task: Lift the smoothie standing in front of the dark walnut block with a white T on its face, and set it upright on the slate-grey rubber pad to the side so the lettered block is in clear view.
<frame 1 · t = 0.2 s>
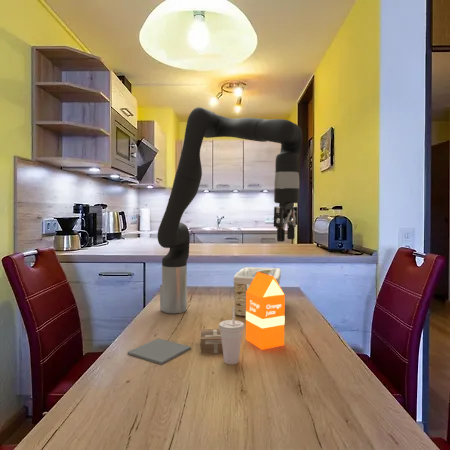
hand: (286, 240, 112), 29 cm above the table, tool pointing down, fingers open, 8 cm apart
orange juice: (264, 342, 106), on the table
slate pad: (159, 351, 98), on the table
lettered block: (215, 347, 101), on the table
storage basket: (258, 310, 140), on the table
smoothie: (231, 361, 92), on the table
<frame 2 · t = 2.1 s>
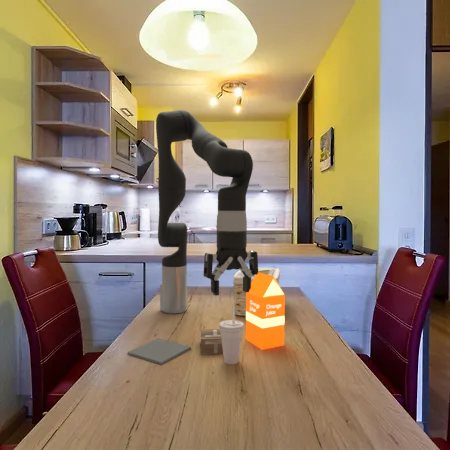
hand: (231, 293, 92), 17 cm above the table, tool pointing down, fingers open, 8 cm apart
nothing on the table moved.
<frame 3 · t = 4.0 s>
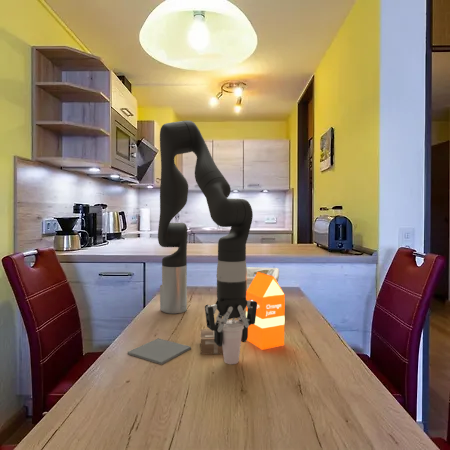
hand: (231, 343, 92), 5 cm above the table, tool pointing down, fingers closed on smoothie, 6 cm apart
smoothie: (231, 361, 92), on the table, touching gripper
everything else where it was.
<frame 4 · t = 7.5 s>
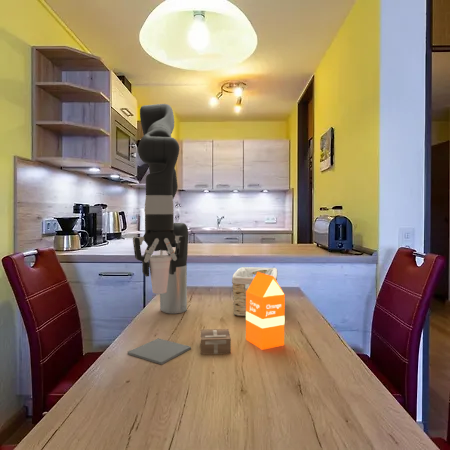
hand: (159, 274, 97), 21 cm above the table, tool pointing down, fingers closed on smoothie, 6 cm apart
smoothie: (159, 292, 98), point 16 cm above the table, touching gripper
when the fingers open (7 cm above the table, at t = 10.9 s): smoothie drops 1 cm, resting on slate pad.
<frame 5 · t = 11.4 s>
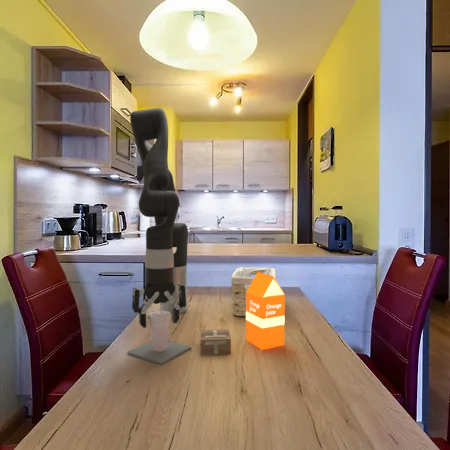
hand: (159, 324, 98), 7 cm above the table, tool pointing down, fingers open, 8 cm apart
smoothie: (159, 349, 98), resting on slate pad
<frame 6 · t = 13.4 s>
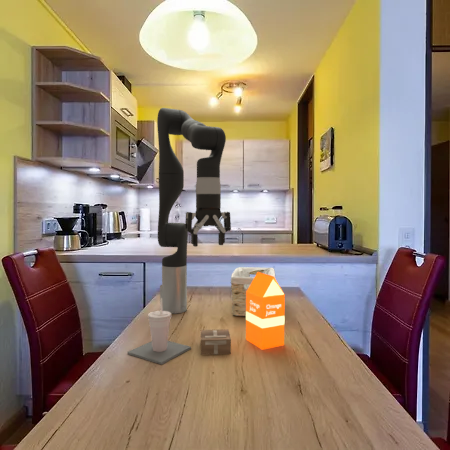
hand: (208, 245, 112), 27 cm above the table, tool pointing down, fingers open, 8 cm apart
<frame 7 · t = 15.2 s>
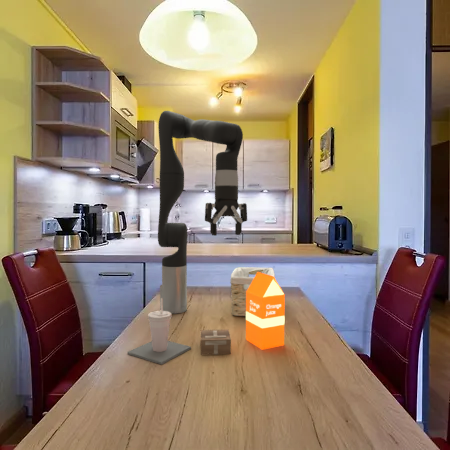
hand: (226, 235, 118), 30 cm above the table, tool pointing down, fingers open, 8 cm apart
at the end: smoothie 0.1 cm off-centre on the slate pad, point 0.4 cm above the slate pad's base; smoothie tilted 0°; lettered block moved 0.7 cm from its start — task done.
